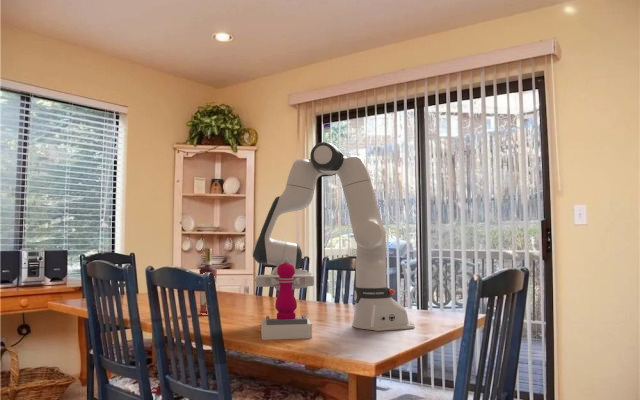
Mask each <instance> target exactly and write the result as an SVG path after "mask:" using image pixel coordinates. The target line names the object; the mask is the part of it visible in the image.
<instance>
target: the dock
mask: <svg viewBox="0 0 640 400" xmlns="http://www.w3.org/2000/svg"><path fill="white" fill-rule="evenodd" d="M260 326H261V327H260V329H261V332H260V333H261V340H262V341H264V340H265V341H268V340H289V339H290V340H294V339H299V340H300V339H313V323H312V322H311V321H310V319H309V318H307V317H306V315H305V314H301V317H295V319H282V320H278V319H277V318H270V316H269V315H267V316H265V319H261V324H260Z"/></svg>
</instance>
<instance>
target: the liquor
mask: <svg viewBox="0 0 640 400" xmlns="http://www.w3.org/2000/svg"><path fill="white" fill-rule="evenodd" d="M212 249H213V248H205V252H204V253H205V262H204V267H202V268H200V269H199V275H200V274H203V273H205V272H212V273H213V274H214V276H215V282H216V283H217V276H218V275H217V272H218V269H217V268H215V267H214V266H213V264H212V261H213V260H212V252H213V251H212ZM199 294H200V295H199V297H200V298H199V300H200V307H199V308H200V309H199V312H198V313H200V314H201V313H206V314H207V311H206V301H205V293H204V292H200V291H199Z"/></svg>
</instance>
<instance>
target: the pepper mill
mask: <svg viewBox="0 0 640 400" xmlns="http://www.w3.org/2000/svg"><path fill="white" fill-rule="evenodd" d="M283 262H284V263H283V264H281V265H279V267H278V269H277V274H278V275H279V277H280V278H279V282H280V291H278V295H277V298H276V300H275V306H274V307H275V310H276V311H277V313H276V319H278V320H282V319H295V318H296V313H295V312H294V311H296V309H297V307H298V303H297V299H296V297H295V295H294V292H293V290H292V282H293V279H294V278H292V277H293V275H294V274H295V268H294V266H293V265H292V264H289V263H288V262H289V260H288V259H284V261H283Z"/></svg>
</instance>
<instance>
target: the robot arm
mask: <svg viewBox="0 0 640 400" xmlns="http://www.w3.org/2000/svg"><path fill="white" fill-rule="evenodd" d="M309 155H310V156H309V159H307V158H300V159H296V160H295V161H294V162H293V163H292V165H291V167H290V171H289V174H288V177H287V180H286V185H285V188H284V190H283V192H282V194H280V195H279V196H276V197H275V198H274V200H273V201H272V204H271V206H270V208H269V211H268V212H267V215H266V218H265V220H264V223H263V225H262V228H261V230H260V234H259V236H258V237H257V239H256V241H255V242H254V245H253V247H252V258H253V259H254V260H255V262H257V264H261V265H273V266H275V267H274V268H273V269H272V270H271V273H270V274H259V275H257V276H255V279H254V282H255V287H256V288H263V287H264V288H269V287H270V288H273V287H274V289H275V290H277V291H278V292H280V282H279V278H280V277H279V275H278V274H277V269H278V267H279V265H281V264H283V263H284V262H283V261H284V259H288V260H289V262H288V263H289V264H292V265H293V266H294V268H295V274H294V275H293V277H292V278H294V279H293V282H292V291H293V290H297V289H307V288H308V287H314V285H315V276H314V274H313V273H311V272H309V271H308V270H307V269H300V268H301V264H302V259H303V251H302V249H301V247H300V245H299V244H298V243H296V242H292V241H287V240H280V239H275V238H272V237H271V235H272V232H273V230H274V227H275V225H276V223H277V220H278V219H279V217H280V216H282V215H283V214H287V213H292V212H297V211H302V210H305V209H306V208H308V207H309V206H310V205H311V203H312V201H313V198H314V195H315V190H316V186H317V185H316V184H317V181H318V179H319V178H325V177H333V176H336V175H337V176H338V178H339V181H340V184H341V188H342V192H343V195H344V198H345V202H346V206H347V209H348V215H349V221H350V225H351V229H352V234H353V238H354V241H355V243H356V259H355V287H354V302H355V304H354V305H355V306H354V307H355V309H354V314H353V320H352V324H351V327H353V328H356V329H362V330H371V331H375V332H376V331H377V332H381V331H393V330H395V331H396V330H406V329H407V330H408V329H414V328H415V323H414V322H412V321H410V320H409V317H408V316H409V315H408V313H407V310H406V309H405V307H404V306H402V305H401V304H400V303H399V302H397V300H396V299H393V297H392V296H394V295H395V293H396V290H395V288H390V287H388V286H387V232H386V228H385V226H384V225H383V221H382V217H381V214H380V210H379V205H378V202H377V198H376V197H377V196H376V195H375V191H374V187H373V183H372V180H371V176H370V173H369V171H368V168H367V165H366V164H365V162H364V159H362V157H360V156H358V155H347V156H345V155H344V153H343V152H342V151H340V149H339V148H337V146H335V145H334V144H333V143H330V142H328V141H322V142H318V143H316V144H314V146H313V147H312V149H311V151H310V154H309Z"/></svg>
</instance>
